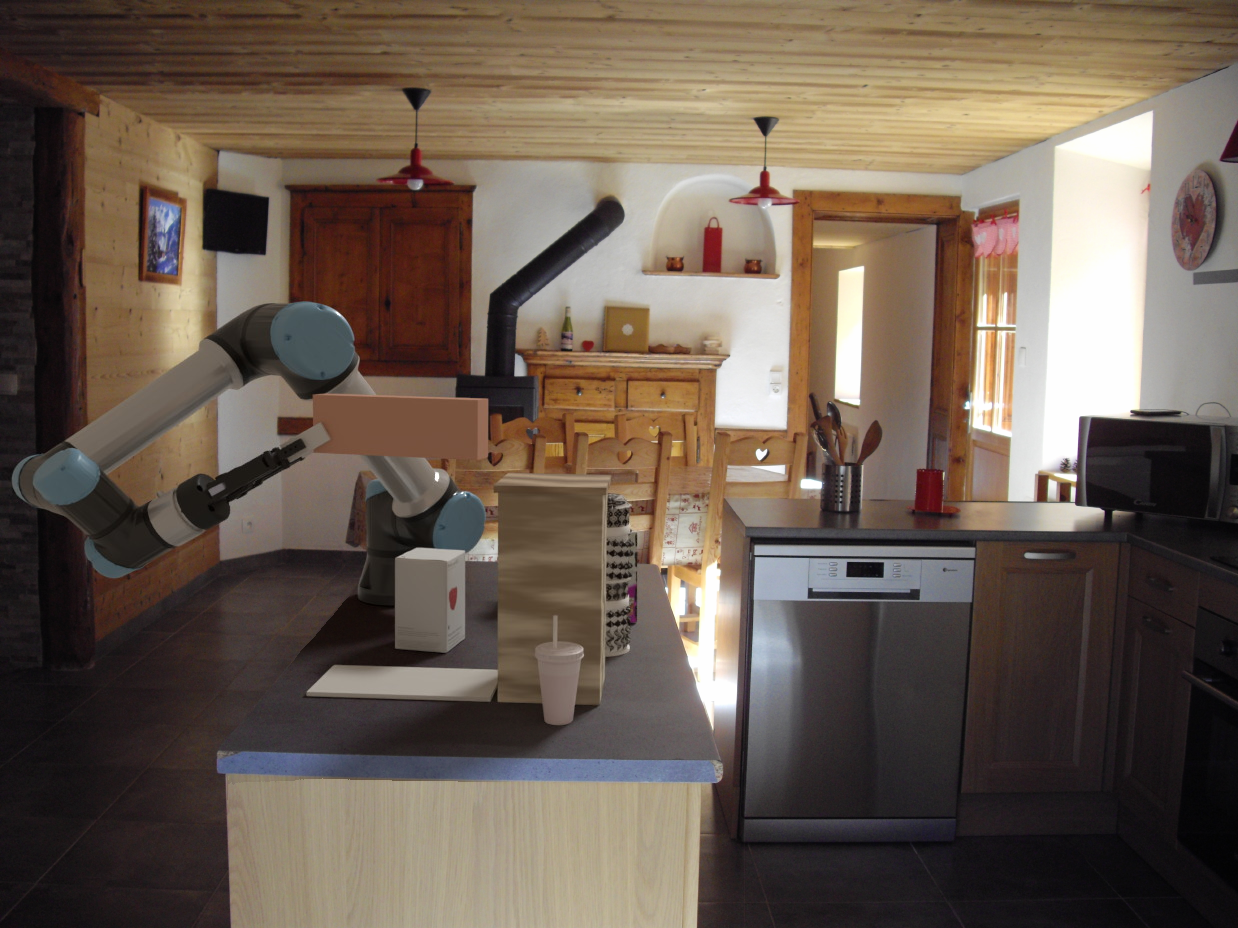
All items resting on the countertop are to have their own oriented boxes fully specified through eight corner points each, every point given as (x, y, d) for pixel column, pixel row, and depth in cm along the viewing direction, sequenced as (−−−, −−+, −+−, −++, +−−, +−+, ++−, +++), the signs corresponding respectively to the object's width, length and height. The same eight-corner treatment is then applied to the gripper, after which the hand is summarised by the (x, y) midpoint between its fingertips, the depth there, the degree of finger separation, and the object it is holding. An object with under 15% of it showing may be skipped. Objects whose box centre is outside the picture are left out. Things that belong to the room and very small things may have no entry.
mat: (333, 668, 156) (333, 664, 156) (503, 673, 155) (503, 669, 155) (306, 695, 144) (306, 691, 144) (490, 701, 143) (490, 697, 143)
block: (327, 449, 148) (327, 393, 148) (487, 457, 143) (488, 398, 142) (313, 452, 145) (312, 394, 144) (477, 460, 139) (477, 400, 138)
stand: (507, 672, 156) (508, 472, 152) (608, 675, 155) (611, 474, 151) (493, 702, 143) (493, 485, 139) (603, 706, 142) (606, 487, 138)
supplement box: (447, 654, 164) (446, 560, 162) (393, 649, 166) (392, 557, 164) (467, 638, 173) (467, 549, 171) (416, 634, 175) (415, 546, 173)
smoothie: (534, 711, 140) (534, 609, 138) (582, 710, 140) (583, 608, 139) (534, 729, 133) (534, 622, 132) (584, 728, 134) (585, 622, 132)
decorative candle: (570, 641, 172) (572, 491, 169) (625, 639, 174) (628, 490, 171) (580, 658, 163) (582, 500, 160) (638, 655, 165) (641, 499, 162)
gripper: (147, 494, 139) (296, 409, 137) (205, 477, 156) (337, 402, 154) (176, 543, 140) (325, 459, 137) (230, 520, 157) (363, 446, 155)
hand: (331, 429), depth 146 cm, fingers closed on block, 4 cm apart
